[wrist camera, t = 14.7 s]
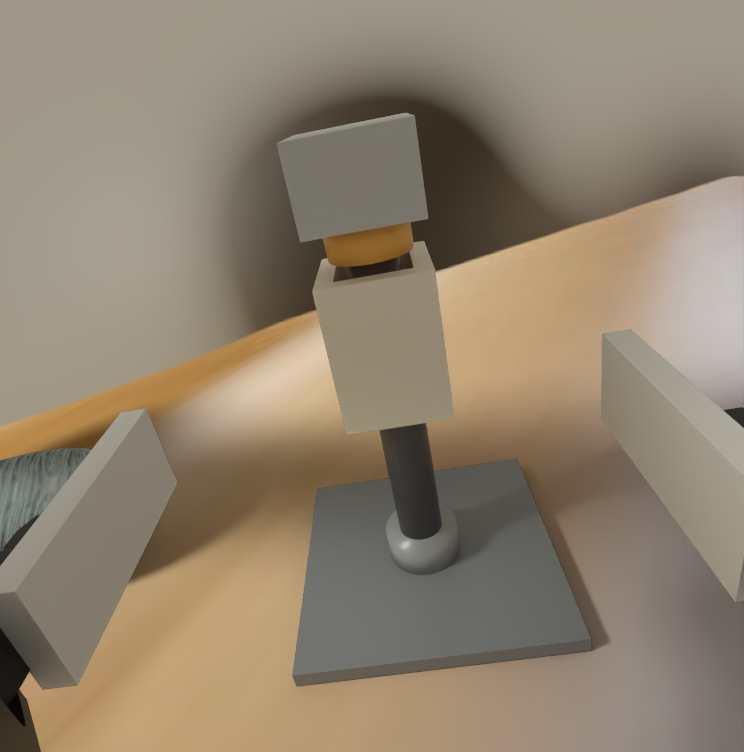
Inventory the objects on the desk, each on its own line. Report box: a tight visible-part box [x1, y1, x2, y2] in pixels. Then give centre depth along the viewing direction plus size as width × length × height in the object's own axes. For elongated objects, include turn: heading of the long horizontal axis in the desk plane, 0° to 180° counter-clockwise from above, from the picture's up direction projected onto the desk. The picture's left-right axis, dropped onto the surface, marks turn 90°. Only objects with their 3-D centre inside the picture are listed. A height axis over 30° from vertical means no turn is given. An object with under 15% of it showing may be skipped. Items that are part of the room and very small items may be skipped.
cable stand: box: [277, 113, 591, 686], centre depth 27 cm, size 14×14×23 cm
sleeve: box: [312, 241, 455, 435], centre depth 26 cm, size 5×5×7 cm
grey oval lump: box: [0, 448, 91, 551], centre depth 36 cm, size 14×10×10 cm
